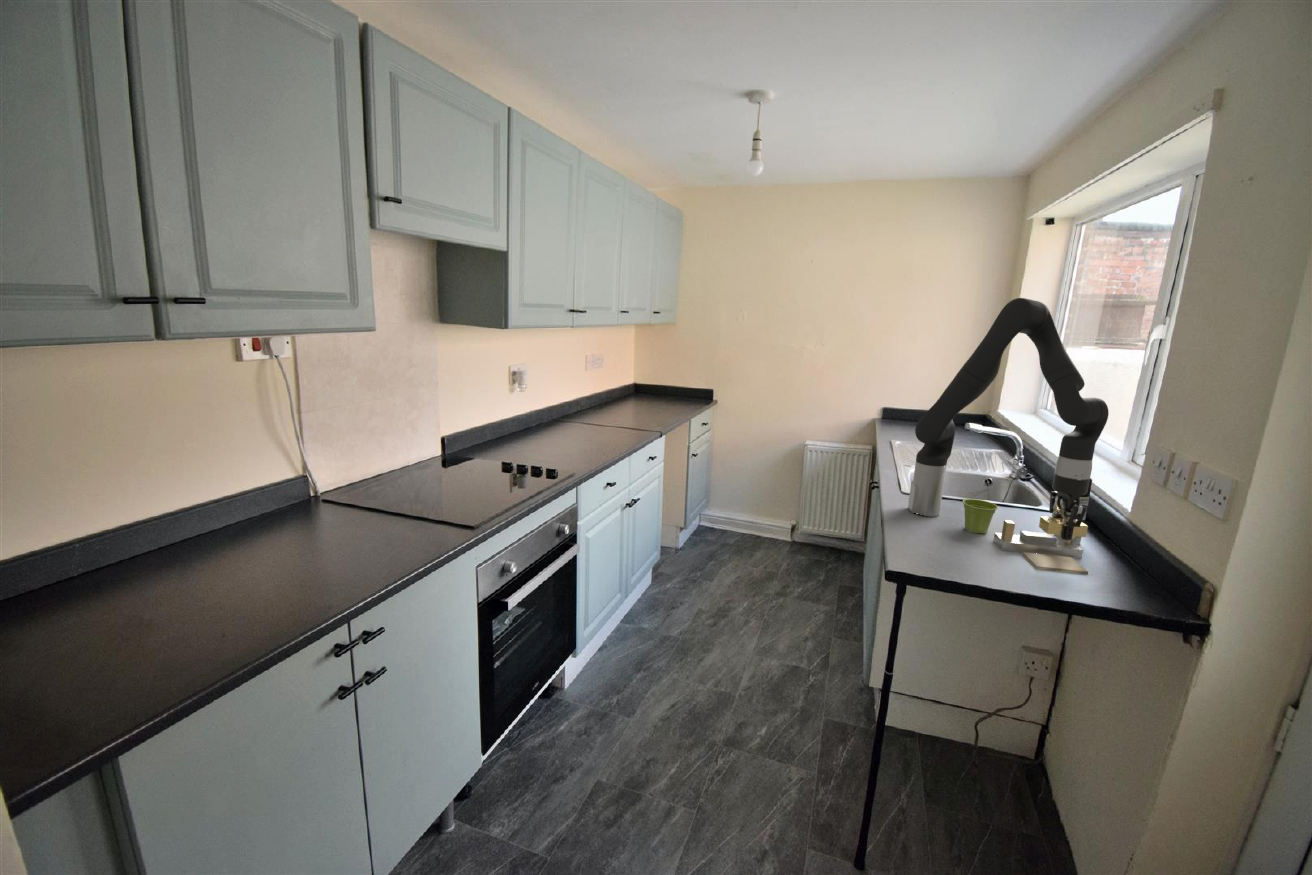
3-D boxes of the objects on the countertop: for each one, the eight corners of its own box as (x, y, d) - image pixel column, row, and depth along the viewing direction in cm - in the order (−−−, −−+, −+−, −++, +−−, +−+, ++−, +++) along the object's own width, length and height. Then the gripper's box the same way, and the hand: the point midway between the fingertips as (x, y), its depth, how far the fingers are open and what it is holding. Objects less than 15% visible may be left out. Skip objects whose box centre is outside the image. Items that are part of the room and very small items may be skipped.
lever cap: (1047, 533, 148) (1049, 520, 147) (1038, 526, 152) (1041, 514, 151) (1085, 537, 146) (1088, 524, 145) (1076, 529, 150) (1078, 517, 150)
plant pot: (964, 522, 180) (968, 496, 178) (997, 530, 174) (1001, 504, 172) (954, 529, 174) (958, 503, 172) (987, 538, 167) (992, 511, 165)
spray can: (1072, 547, 163) (1085, 481, 158) (1047, 538, 168) (1059, 475, 164) (1084, 543, 166) (1098, 478, 161) (1059, 535, 171) (1072, 472, 167)
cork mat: (1036, 568, 148) (1037, 566, 148) (1022, 554, 157) (1023, 552, 156) (1087, 574, 146) (1088, 571, 145) (1070, 559, 154) (1071, 557, 154)
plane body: (1002, 550, 159) (1006, 525, 158) (993, 540, 166) (997, 516, 164) (1081, 558, 155) (1086, 532, 154) (1069, 547, 162) (1074, 523, 160)
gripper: (1043, 465, 153) (1033, 524, 157) (1069, 480, 139) (1057, 544, 143) (1074, 467, 152) (1063, 527, 155) (1104, 483, 138) (1091, 547, 142)
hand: (1061, 535), depth 149 cm, fingers closed on lever cap, 5 cm apart
